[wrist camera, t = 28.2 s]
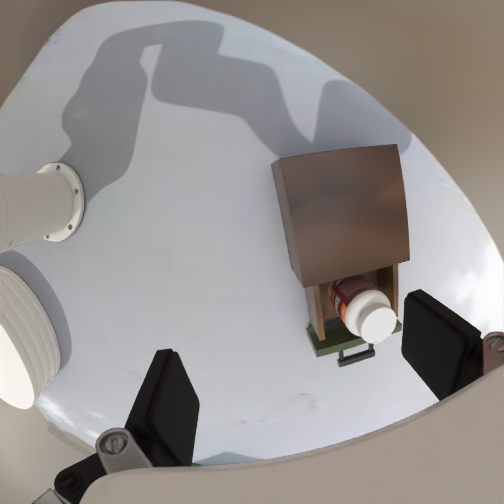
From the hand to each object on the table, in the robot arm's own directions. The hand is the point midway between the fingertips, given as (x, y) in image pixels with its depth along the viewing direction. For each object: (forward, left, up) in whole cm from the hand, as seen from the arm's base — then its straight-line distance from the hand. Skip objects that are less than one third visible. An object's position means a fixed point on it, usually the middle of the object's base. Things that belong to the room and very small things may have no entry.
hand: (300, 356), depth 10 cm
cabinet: (+11, +1, -28) cm, 30 cm away
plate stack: (-55, -8, -28) cm, 62 cm away
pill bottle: (+11, -11, -26) cm, 31 cm away
